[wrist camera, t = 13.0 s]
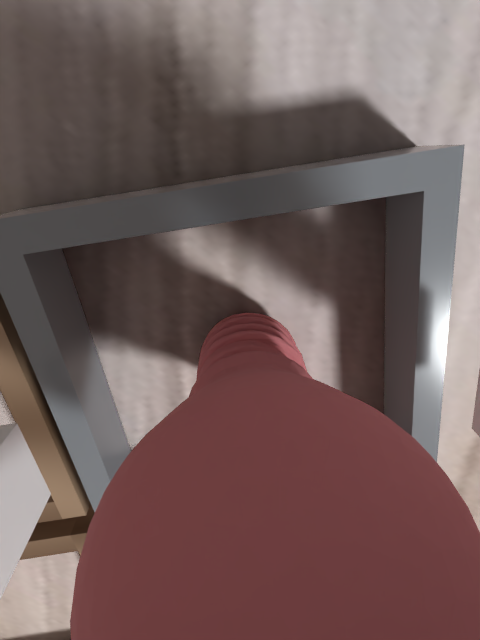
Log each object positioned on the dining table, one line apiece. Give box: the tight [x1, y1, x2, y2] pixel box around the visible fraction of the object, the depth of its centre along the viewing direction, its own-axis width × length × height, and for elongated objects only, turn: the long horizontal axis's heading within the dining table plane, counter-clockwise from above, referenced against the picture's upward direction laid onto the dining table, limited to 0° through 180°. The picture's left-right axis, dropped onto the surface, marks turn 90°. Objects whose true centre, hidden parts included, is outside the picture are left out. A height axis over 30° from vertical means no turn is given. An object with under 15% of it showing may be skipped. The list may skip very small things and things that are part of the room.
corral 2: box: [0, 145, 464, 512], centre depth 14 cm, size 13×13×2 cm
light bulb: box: [70, 312, 480, 640], centre depth 9 cm, size 7×7×12 cm
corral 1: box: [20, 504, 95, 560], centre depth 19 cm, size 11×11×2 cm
